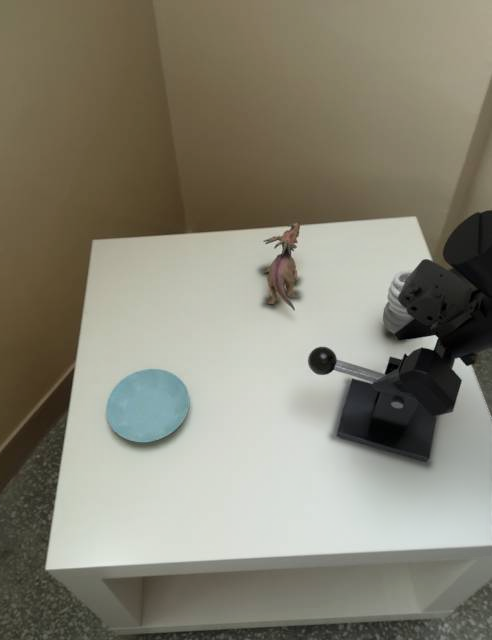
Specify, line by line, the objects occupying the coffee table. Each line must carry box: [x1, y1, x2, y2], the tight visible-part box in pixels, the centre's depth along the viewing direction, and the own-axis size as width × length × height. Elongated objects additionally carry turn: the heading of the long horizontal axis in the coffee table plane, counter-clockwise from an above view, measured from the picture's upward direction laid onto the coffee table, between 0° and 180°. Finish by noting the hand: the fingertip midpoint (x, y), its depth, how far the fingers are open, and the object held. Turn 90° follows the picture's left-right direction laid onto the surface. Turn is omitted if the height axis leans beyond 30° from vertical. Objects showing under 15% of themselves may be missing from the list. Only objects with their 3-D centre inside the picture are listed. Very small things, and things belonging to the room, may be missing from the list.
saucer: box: [105, 368, 190, 443], centre depth 75 cm, size 12×12×2 cm
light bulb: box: [382, 269, 414, 334], centre depth 76 cm, size 6×6×12 cm
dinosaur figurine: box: [262, 222, 301, 312], centre depth 84 cm, size 14×6×9 cm, turn 176°
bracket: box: [335, 356, 437, 463], centre depth 68 cm, size 12×9×11 cm
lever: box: [307, 346, 395, 383], centre depth 66 cm, size 13×4×4 cm, turn 70°
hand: (385, 361), depth 64 cm, fingers open, 9 cm apart
